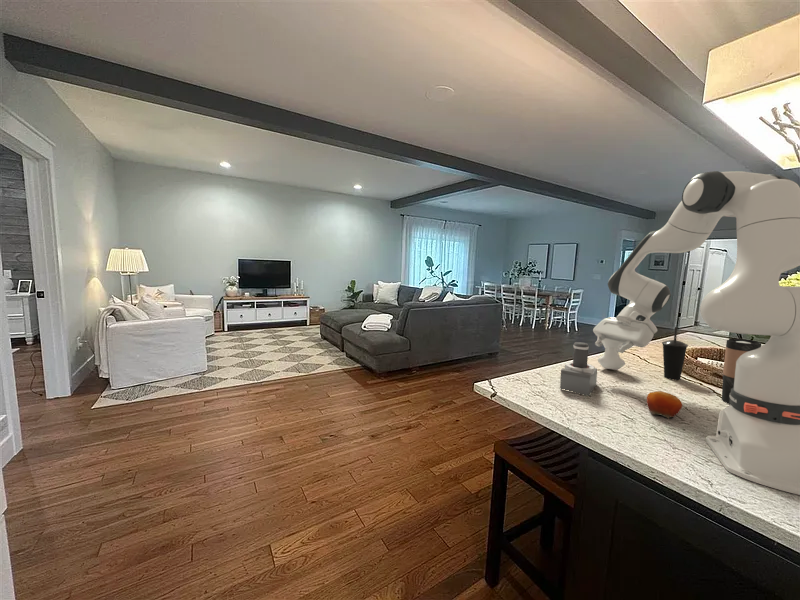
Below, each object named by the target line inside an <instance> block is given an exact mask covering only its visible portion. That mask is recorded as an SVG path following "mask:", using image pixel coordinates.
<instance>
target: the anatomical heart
mask: <svg viewBox="0 0 800 600" xmlns="http://www.w3.org/2000/svg"><path fill="white" fill-rule="evenodd" d="M602 343H603V344H602V346H603V347H604V352H603V354H602V355H600V356H599V357H598V358H597V362H598V363H599V365H600V366H601V367H602V368H603V369H608V370H614V371H615V370H616V371H618V370H621V368H622V367H623V368H624V366H625V365H626V362H625V360H623V358H622V357H620V354H619V353H620V352H618V351H617V348H618V347H619V346H623V345H624V344H625V343H622V342H618V341H614V340H610V339H606V338H605V339H604V340H602Z"/></svg>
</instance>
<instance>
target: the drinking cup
mask: <svg viewBox="0 0 800 600" xmlns="http://www.w3.org/2000/svg"><path fill="white" fill-rule="evenodd" d="M673 333H674V335H673V339H669V340H664V341H662V342H661V343H662V355H663V377H664V378H666V379H668V380H672V379H674V381H679V379H680V380H681V378H682V377H681V376H682V372H683V367H684V362H685V358H686V352H687V348H688V346H689V345H688V344H687V343H686V342H684V341H681V340H678V339H677V334H678V326H674V332H673Z"/></svg>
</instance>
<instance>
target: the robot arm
mask: <svg viewBox="0 0 800 600" xmlns="http://www.w3.org/2000/svg"><path fill="white" fill-rule="evenodd" d="M723 217H730V218H735V219H736V222H735V223H736V245H737V246H736V261H735V265H734V268H733V270H732V272H731V274H730V275H729V276H728V278H726V280H725V281H724V282H723V283H721V284H720V285H718V286H717V287H715V288H713V289H712V290H710V291H709V292H708V293H706V294H705V296H704V297H703V299H702V300H701V303H700V310H699V311H700V316H701V318H702V320H703V321H704V323H705V324H706V325H707V326H709V327H710V328H711V329H714V330H718V331H723V332H728V333H733V334H738V335H739V334H740V335H757V336H758V335H759V336H770V337H769V339H768V341H767V342H765V344H763V345H761V347H760V348H758V349H755V350H751V351H748V352H746V353H744V354H742V355H741V356H740V357H739V358H738V360H737V361H736V369H735V379H734V388H732V389H731V393H730V395H729V397H730V401H729V403H730V404H728V406H727V407H725V408H723V409H721V410H719V414H718V419H717V420H718V421H717V429H716V434H715V435H707V436H706V437H705V442H706V443H707V445H708V446H709V447H710V449H711V451H713V453H714V454H715V456H716V457H717V459H718V460H719V461H720V463H721V464H722V465H723V467H724V468H725V470H726V471H727V472H729V473H731V474H733V475H735V476H738V477H741V478H743V479H745V480H748V481H751V482H753V483H757V484H760V485H762V486H764V487H765V486H766V487H769V488H772V489H776V490H778V491H779V490H780V491H782V492H787V493H790V494H794V495H798V496H800V286H789V285H788V286H787V285H786V286H783V285H780V278H781V277H780V276H781V274H783V273H786V272H788V271H790V270H793V269H795V268H798V267H799V266H800V185H799V184H798V183H797V182H795V181H793V180H792V179H791V180H790V179H789V178H788V177H785V176H782V175H778V174H774V173H769V174H766V173H765V174H764V173H759V172H758V173H757V172H748V171H744V170H743V171H741V170H740V171H735V170H734V171H719V170H716V171H715V170H714V171H706V172H702V173H701V172H700V173H698V174H696V175H695V176H693V177H692V178H691V179H690V180H689V181H688V182H687V184H685V187H684V188H683V190H682V194H681V201H680V202H679V203H678V205H677V206H676V208H675V209H674V210H673V212H672V214H671V216H670V217H669V219H668V221H667V222H666V223H665V225H663V226H662V227H661V228H660V229H658V230H653V231H650V232H649V233H648V234H646V236H644V238H642V240H641V241H640V242H639V243H638V244H637V245H636V247H635V248H634V249H633V250H632V251H631V253H630V254H629V255H628V256H627V258H626V259H625V261H623V263H622V264H621V266H619V267H618V269H617V270H616V271H615V272H614V273H613V274H611V276H610V277H609V279H608V281H607V287H608V290H609V291H610V293H611V294H614V295H617V296H619V297H622V298H624V299H627V300H628V301H629V303H628V304H627V305H626V306H624V307H623V309H621V311H620V312H619V313H618V315H617V316H616V317H612V316H609V317H607V318H606V317H605V318H603V319H602V320H601V321H599V322H598V323H597V325H595V326H594V327H593V329H592V332H593V333H594V335H595V336H596V337H597V340H596V341H595V342H594V345H595V346H596V347H599V348H600V347H602V346H603V343H602V340H604V339H605V338H606V339H610V340H614V341H618V342H622V343H624V344H623V346H619V347H618V348H617V351H618V353H620V354H624V353H625V351H626V350H629V349H632V348H633V347H637V348H644V347H646V346H647V345H649V343H650V342H651V341H652V339H653V338H654V336H655V335H654V334H656V333H657V332H658V328H657V326H656V325H655V323H654V322H653V321H652V320H651V317H652V316H654V315H655V314H656V313H657V312H661V310H662V309H663V308H664V307H665V305H666V304H667V303H668V302H669V301H670V300H671V296H672V294H671V290H670V288H669V286H668V285H666V284H664V282H660V281H658V280H656V279H653V278H650V277H647V276H645V275H642V274H641V273H639V272H636V268H637V267H638V266H639V265H640V263H641V262H642V261H643V260H644V259H645V257H647V255H649V254H653V253H655V254H656V253H667V254H682V253H687V252H691V251H694V250H696V249H698V248H700V247H702V245H703V244H704V243H705V242H706V241H707V239H708V238H709V237H710V235H711V234H712V233H713V231H714V229H715V228H716V226H717V224H718V222H719V221H720V220H721V218H723Z"/></svg>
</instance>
